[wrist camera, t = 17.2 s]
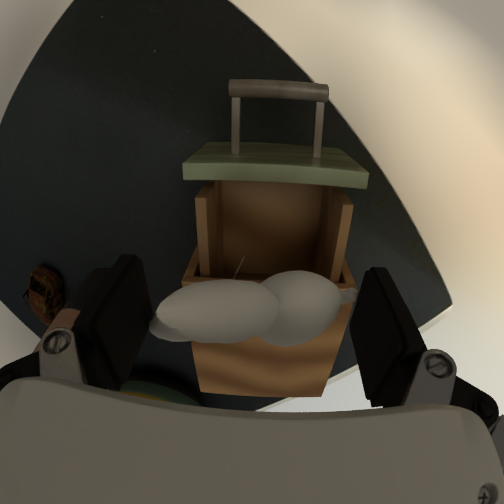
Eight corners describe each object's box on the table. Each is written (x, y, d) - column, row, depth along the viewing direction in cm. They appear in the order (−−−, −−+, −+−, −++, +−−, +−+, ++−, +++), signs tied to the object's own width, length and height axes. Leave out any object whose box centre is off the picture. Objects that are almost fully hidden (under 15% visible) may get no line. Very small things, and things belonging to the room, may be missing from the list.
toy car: (33, 254, 35) (15, 272, 31) (68, 273, 36) (50, 293, 32) (38, 306, 41) (24, 324, 36) (68, 324, 42) (55, 343, 38)
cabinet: (206, 222, 31) (180, 281, 22) (333, 228, 31) (357, 289, 22) (213, 327, 39) (200, 391, 30) (313, 332, 39) (321, 397, 30)
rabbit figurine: (305, 340, 14) (145, 367, 11) (290, 267, 16) (133, 275, 12) (397, 319, 9) (167, 374, 6) (370, 219, 11) (148, 210, 7)
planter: (239, 390, 47) (227, 505, 29) (184, 420, 55) (167, 506, 37) (139, 336, 41) (91, 459, 23) (104, 378, 49) (69, 467, 31)
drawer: (207, 83, 23) (180, 78, 15) (344, 90, 23) (378, 89, 15) (212, 271, 33) (197, 326, 26) (321, 276, 33) (334, 332, 25)
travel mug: (115, 317, 40) (60, 430, 22) (79, 281, 37) (6, 388, 20) (146, 297, 37) (87, 428, 20) (106, 256, 34) (20, 378, 17)
